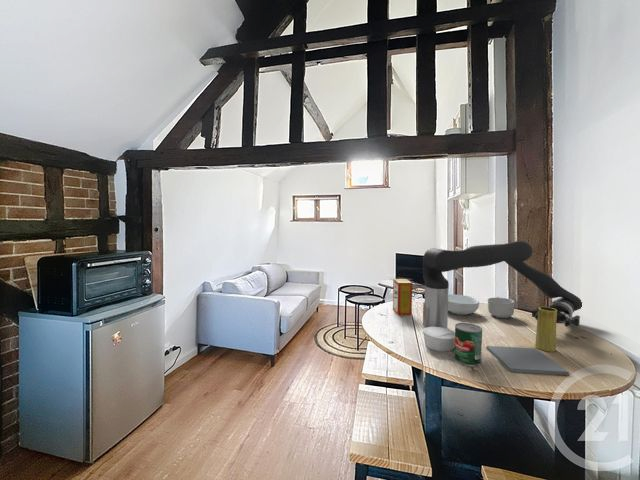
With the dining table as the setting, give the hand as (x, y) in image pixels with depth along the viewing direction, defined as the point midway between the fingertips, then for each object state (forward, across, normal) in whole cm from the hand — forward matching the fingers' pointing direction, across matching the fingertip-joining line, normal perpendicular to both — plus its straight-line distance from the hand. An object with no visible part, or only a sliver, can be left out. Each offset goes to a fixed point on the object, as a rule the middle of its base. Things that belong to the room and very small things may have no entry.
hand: (551, 320), depth 109 cm
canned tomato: (+39, -15, +8) cm, 43 cm away
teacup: (-20, -23, +8) cm, 32 cm away
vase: (+9, 0, +8) cm, 12 cm away
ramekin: (+36, -26, +8) cm, 45 cm away
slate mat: (+26, -2, +8) cm, 27 cm away
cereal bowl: (-10, -38, +8) cm, 40 cm away
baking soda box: (+11, -57, +8) cm, 58 cm away
